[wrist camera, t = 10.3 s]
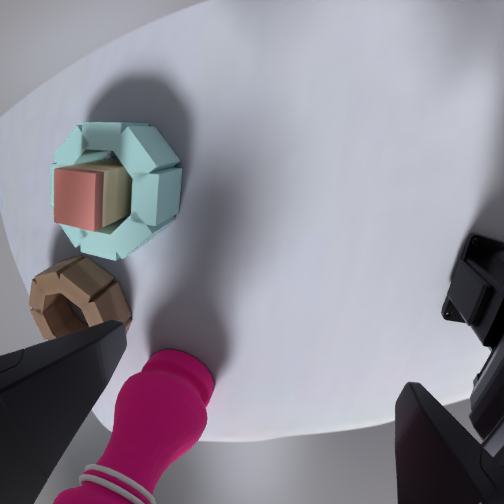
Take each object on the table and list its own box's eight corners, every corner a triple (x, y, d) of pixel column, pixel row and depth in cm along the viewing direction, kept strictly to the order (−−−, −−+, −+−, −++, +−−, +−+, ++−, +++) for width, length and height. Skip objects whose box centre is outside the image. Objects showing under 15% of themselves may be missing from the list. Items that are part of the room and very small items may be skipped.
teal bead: (187, 125, 19) (164, 124, 16) (176, 251, 22) (154, 270, 19) (83, 121, 20) (52, 122, 17) (80, 230, 23) (52, 244, 20)
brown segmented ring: (106, 249, 24) (80, 265, 20) (144, 343, 26) (125, 367, 23) (42, 266, 26) (17, 280, 22) (77, 345, 28) (57, 364, 25)
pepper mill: (137, 337, 26) (-6, 520, 7) (218, 350, 25) (105, 591, 6) (151, 396, 28) (52, 561, 10) (222, 411, 27) (147, 607, 9)
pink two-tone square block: (147, 162, 21) (95, 173, 15) (144, 207, 22) (94, 231, 16) (110, 158, 21) (54, 168, 15) (107, 200, 22) (54, 222, 17)
